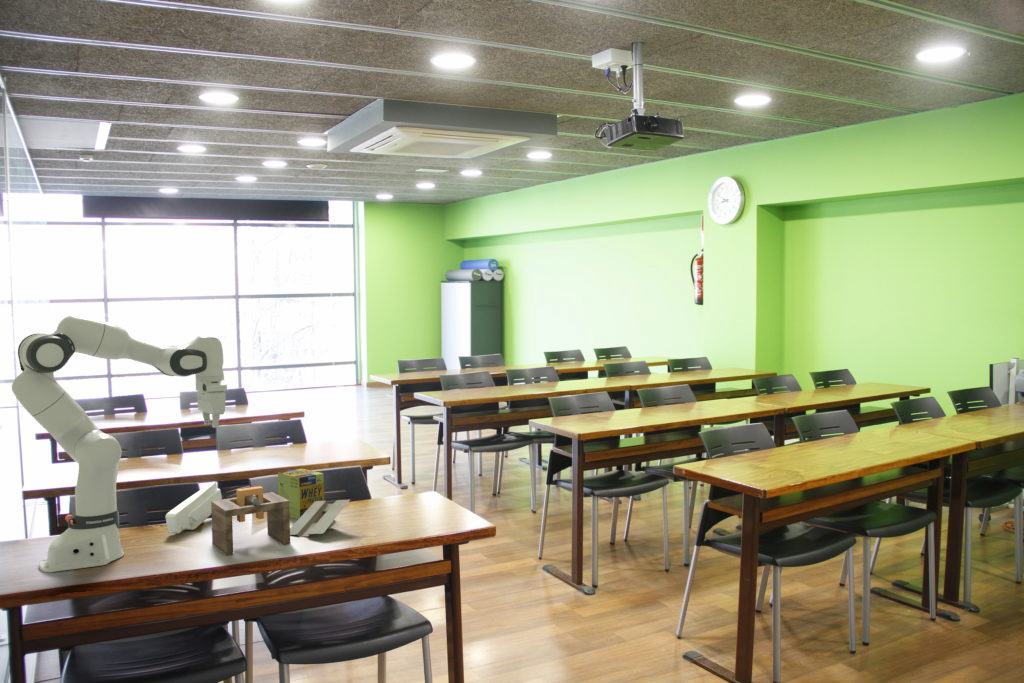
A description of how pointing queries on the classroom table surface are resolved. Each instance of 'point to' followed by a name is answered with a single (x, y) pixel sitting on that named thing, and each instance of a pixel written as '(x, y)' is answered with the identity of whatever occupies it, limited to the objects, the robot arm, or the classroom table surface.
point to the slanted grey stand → (318, 518)
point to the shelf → (228, 507)
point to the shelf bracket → (193, 509)
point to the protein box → (300, 489)
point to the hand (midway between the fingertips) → (211, 426)
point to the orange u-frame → (249, 492)
